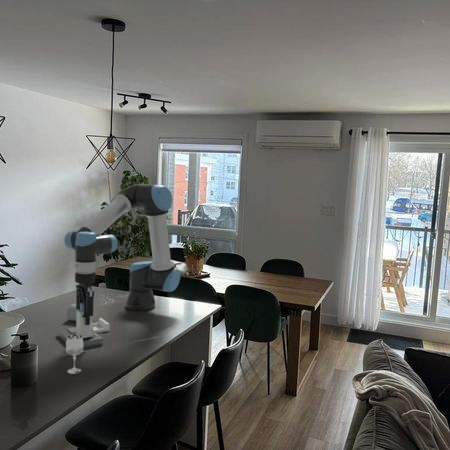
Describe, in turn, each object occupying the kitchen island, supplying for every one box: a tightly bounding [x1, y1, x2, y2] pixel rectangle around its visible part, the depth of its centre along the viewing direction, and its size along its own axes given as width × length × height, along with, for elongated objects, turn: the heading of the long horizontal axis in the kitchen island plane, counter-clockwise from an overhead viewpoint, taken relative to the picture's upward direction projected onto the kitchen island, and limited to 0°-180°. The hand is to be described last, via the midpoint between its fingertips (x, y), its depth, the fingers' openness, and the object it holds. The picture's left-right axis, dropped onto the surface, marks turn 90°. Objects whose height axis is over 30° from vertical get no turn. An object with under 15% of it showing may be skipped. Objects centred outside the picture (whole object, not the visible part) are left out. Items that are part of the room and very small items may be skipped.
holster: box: [92, 317, 110, 334], centre depth 194 cm, size 8×9×4 cm
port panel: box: [57, 326, 104, 349], centre depth 181 cm, size 12×18×3 cm, turn 37°
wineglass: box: [65, 335, 84, 375], centre depth 153 cm, size 6×6×12 cm
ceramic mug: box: [66, 303, 78, 322], centre depth 206 cm, size 11×8×8 cm
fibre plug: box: [75, 303, 93, 338], centre depth 176 cm, size 4×4×13 cm
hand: (83, 330), depth 177 cm, fingers closed on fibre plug, 4 cm apart
